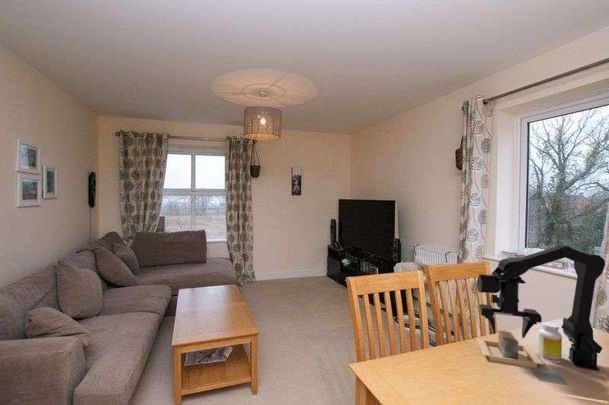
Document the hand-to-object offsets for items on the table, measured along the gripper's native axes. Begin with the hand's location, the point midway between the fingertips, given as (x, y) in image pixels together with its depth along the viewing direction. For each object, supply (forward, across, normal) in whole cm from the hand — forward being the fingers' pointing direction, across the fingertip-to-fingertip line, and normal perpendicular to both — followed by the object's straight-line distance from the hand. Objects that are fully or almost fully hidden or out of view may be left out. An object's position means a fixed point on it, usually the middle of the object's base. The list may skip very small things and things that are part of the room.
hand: (508, 335), depth 115 cm
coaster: (+8, -9, +11) cm, 16 cm away
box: (+7, 0, 0) cm, 7 cm away
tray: (+8, 0, 0) cm, 8 cm away
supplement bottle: (+8, -14, -3) cm, 16 cm away
